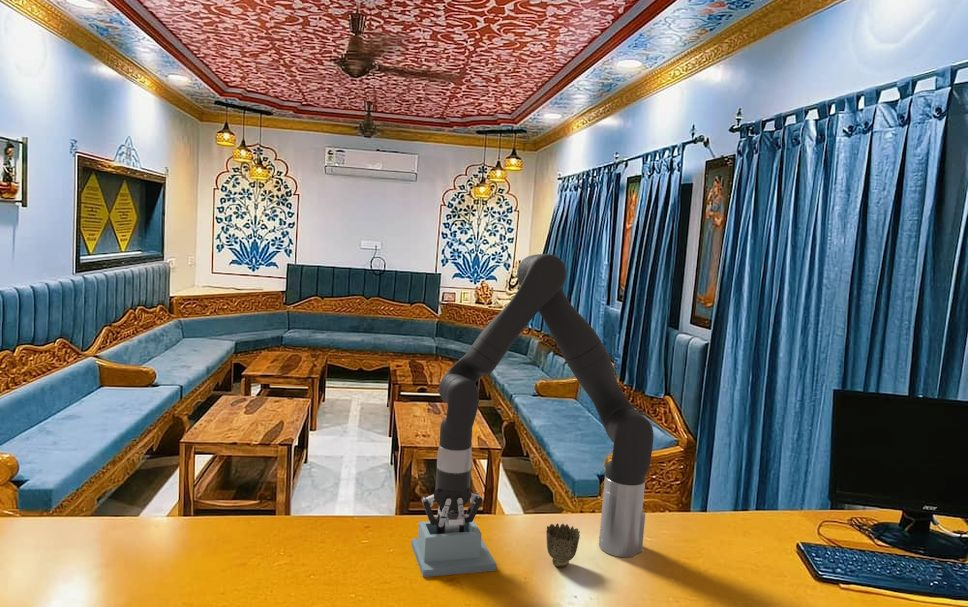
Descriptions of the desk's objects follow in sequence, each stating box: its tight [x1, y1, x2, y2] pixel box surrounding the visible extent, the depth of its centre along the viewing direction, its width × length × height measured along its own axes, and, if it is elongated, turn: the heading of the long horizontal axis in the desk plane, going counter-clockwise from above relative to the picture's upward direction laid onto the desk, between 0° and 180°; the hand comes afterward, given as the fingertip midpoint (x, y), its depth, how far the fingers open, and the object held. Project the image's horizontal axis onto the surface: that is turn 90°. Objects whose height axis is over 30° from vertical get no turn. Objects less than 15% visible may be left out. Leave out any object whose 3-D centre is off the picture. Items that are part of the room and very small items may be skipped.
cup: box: [545, 523, 581, 569], centre depth 142 cm, size 8×7×8 cm
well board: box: [410, 519, 497, 578], centre depth 143 cm, size 16×14×7 cm
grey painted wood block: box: [444, 511, 463, 534], centre depth 141 cm, size 3×6×8 cm, turn 17°
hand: (449, 540), depth 142 cm, fingers closed on grey painted wood block, 3 cm apart
